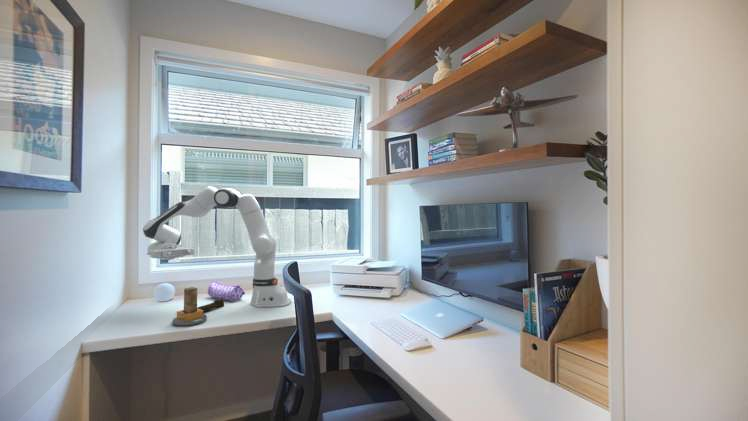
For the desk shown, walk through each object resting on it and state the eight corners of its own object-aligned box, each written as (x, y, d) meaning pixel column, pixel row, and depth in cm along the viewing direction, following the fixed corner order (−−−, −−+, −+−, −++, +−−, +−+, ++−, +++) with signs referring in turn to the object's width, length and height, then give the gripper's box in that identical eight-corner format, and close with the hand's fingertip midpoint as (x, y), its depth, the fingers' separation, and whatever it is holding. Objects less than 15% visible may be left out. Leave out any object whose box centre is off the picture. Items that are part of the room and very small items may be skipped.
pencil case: (245, 299, 192) (245, 283, 192) (232, 303, 184) (232, 286, 184) (218, 295, 201) (218, 280, 201) (205, 298, 193) (205, 282, 193)
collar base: (197, 315, 161) (197, 305, 161) (212, 320, 154) (212, 310, 154) (166, 322, 150) (166, 311, 150) (181, 328, 142) (181, 317, 142)
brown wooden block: (192, 316, 154) (193, 286, 155) (196, 318, 152) (197, 288, 152) (183, 318, 151) (184, 288, 151) (187, 320, 149) (188, 289, 149)
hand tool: (196, 316, 160) (197, 307, 160) (191, 315, 161) (191, 306, 161) (227, 307, 177) (227, 298, 177) (222, 306, 179) (222, 297, 179)
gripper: (145, 247, 165) (157, 249, 157) (186, 244, 182) (199, 246, 174) (144, 259, 165) (157, 262, 157) (186, 255, 182) (199, 257, 174)
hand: (180, 253), depth 166 cm, fingers open, 8 cm apart
